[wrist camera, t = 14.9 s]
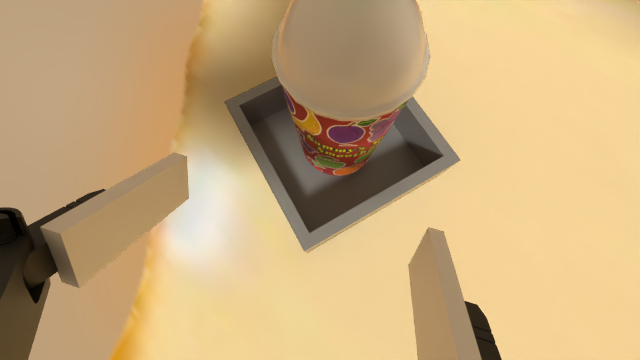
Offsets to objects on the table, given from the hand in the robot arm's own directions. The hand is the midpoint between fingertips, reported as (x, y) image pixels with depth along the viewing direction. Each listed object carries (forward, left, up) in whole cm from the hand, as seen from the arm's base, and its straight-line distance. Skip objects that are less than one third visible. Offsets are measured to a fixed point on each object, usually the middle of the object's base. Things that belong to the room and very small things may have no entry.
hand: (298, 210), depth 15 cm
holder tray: (+6, -6, -12) cm, 15 cm away
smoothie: (+6, -7, -11) cm, 14 cm away
